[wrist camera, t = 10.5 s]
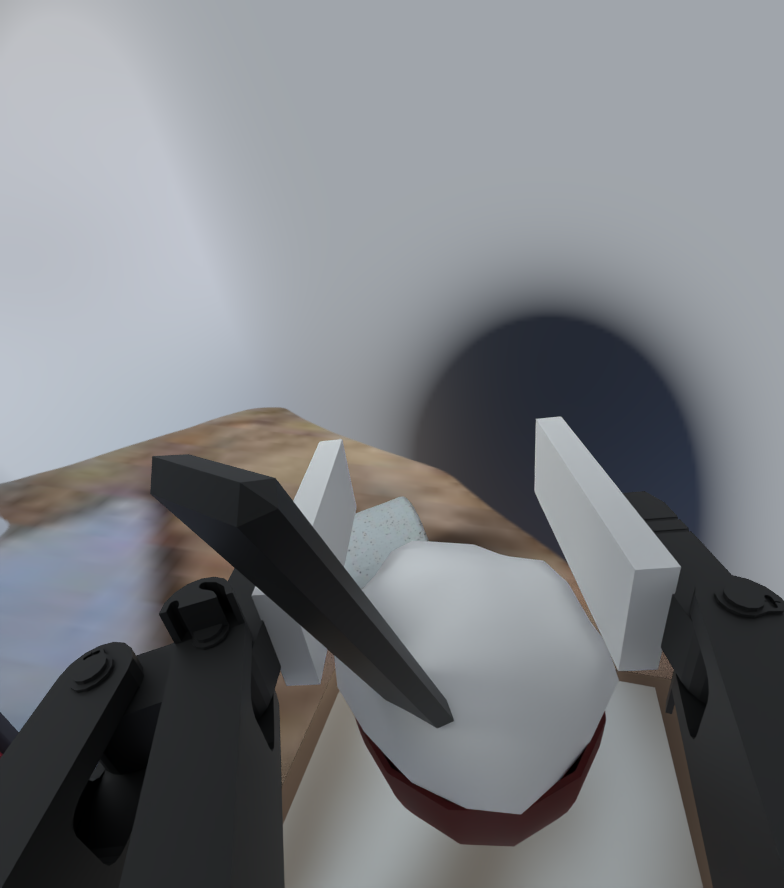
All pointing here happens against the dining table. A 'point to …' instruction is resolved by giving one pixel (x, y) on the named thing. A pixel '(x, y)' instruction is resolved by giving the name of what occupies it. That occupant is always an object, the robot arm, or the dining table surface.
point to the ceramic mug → (380, 537)
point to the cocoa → (427, 654)
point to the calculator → (6, 734)
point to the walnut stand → (500, 867)
